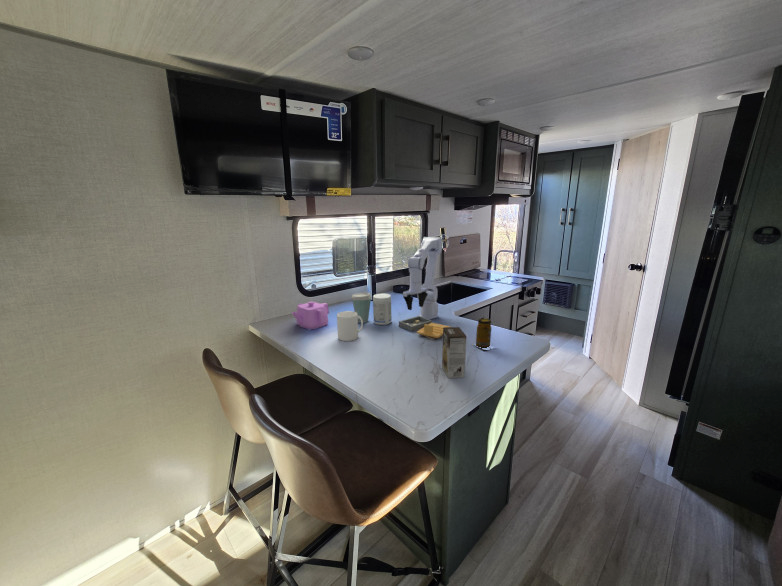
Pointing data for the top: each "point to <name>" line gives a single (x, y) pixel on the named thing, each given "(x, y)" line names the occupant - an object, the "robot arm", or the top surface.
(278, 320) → the top surface
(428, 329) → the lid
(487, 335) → the condiment
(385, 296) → the supplement tub
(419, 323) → the parts tub
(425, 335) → the mat
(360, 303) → the disposable coffee cup
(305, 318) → the teakettle
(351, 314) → the mug
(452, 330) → the coffee box
